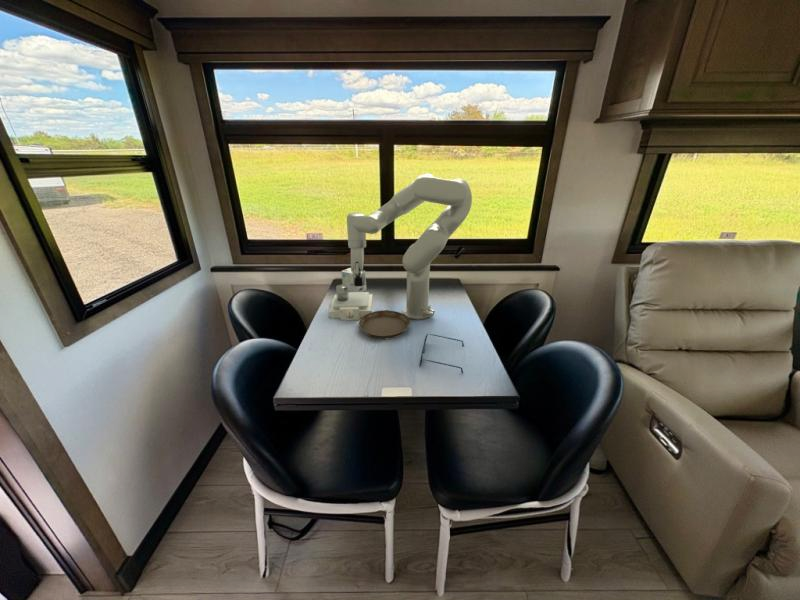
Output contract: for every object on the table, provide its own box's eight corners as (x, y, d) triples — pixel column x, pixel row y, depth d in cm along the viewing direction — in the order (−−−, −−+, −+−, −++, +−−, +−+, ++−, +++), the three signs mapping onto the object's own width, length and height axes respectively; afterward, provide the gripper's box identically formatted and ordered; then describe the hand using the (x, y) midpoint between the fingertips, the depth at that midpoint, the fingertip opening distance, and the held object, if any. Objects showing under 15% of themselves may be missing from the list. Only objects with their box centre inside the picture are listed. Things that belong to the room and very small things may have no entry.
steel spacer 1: (351, 298, 150) (350, 286, 147) (342, 302, 146) (341, 289, 144) (343, 295, 153) (342, 283, 150) (334, 299, 149) (333, 286, 147)
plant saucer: (404, 344, 124) (404, 337, 122) (352, 339, 127) (351, 331, 126) (413, 319, 142) (413, 312, 141) (367, 315, 146) (367, 308, 145)
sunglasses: (424, 343, 125) (426, 331, 123) (463, 351, 123) (465, 339, 121) (418, 370, 110) (420, 357, 108) (462, 380, 108) (465, 367, 106)
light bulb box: (366, 290, 171) (365, 270, 166) (358, 294, 166) (357, 274, 161) (350, 286, 176) (349, 267, 172) (342, 290, 171) (340, 270, 166)
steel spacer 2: (367, 284, 147) (366, 271, 145) (358, 287, 144) (358, 274, 141) (359, 281, 150) (358, 268, 148) (350, 284, 147) (349, 271, 144)
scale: (372, 299, 160) (372, 290, 158) (371, 319, 141) (370, 309, 139) (335, 300, 160) (334, 290, 157) (328, 320, 141) (327, 310, 139)
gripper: (350, 238, 147) (352, 276, 154) (346, 248, 131) (348, 290, 139) (367, 238, 147) (368, 276, 155) (365, 248, 132) (366, 290, 139)
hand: (359, 282), depth 147 cm, fingers closed on steel spacer 2, 5 cm apart
